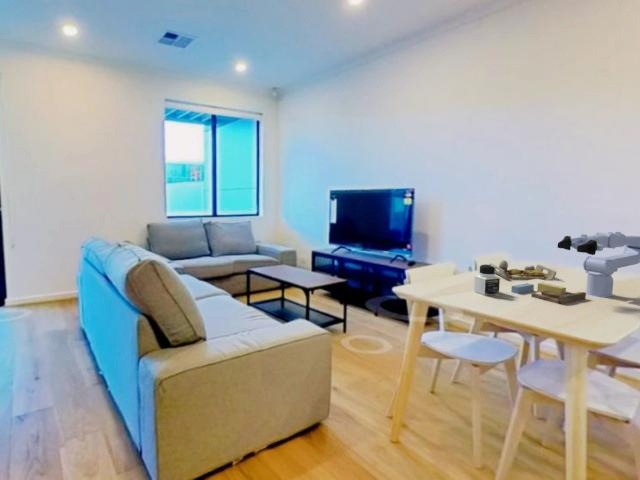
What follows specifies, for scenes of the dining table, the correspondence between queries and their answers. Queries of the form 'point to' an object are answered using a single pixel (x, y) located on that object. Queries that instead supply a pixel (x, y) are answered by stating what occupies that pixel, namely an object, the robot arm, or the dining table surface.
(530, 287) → the stick blue
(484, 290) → the medicine bottle
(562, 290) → the stick ochre
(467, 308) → the dining table surface
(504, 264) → the toy food set
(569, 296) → the comb board
